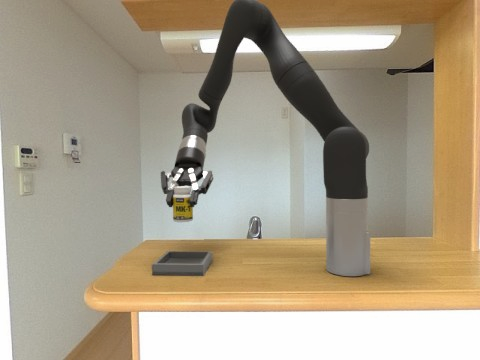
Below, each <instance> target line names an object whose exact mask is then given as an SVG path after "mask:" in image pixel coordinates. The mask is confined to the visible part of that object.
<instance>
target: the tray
mask: <svg viewBox="0 0 480 360" xmlns="http://www.w3.org/2000/svg"><path fill="white" fill-rule="evenodd" d="M212 262H213V250H212V251H211V250H210V251H209V250H207V251H206V250H202V251H201V250H167V251H165V253H163V254H162V255H161V256H160V257H158V258H157V259H156V260H155V261H154V262H153V263H152V264H151V272H152V273H151V274H152V276H197V277H198V276H199V277H200V276H201V277H203V276H205V274H206V272H207V270H208V269H209V267H210V265H211V263H212Z"/></svg>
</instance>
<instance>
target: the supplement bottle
mask: <svg viewBox="0 0 480 360" xmlns="http://www.w3.org/2000/svg"><path fill="white" fill-rule="evenodd" d="M191 192H192V186H179V187H174V193H175V194H174V195H173V206H172V219H173V222H176V223H189V222H192V221H193V220H194V214H193V212H194V207H191V206H190V198H191Z"/></svg>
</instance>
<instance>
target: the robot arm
mask: <svg viewBox="0 0 480 360" xmlns="http://www.w3.org/2000/svg"><path fill="white" fill-rule="evenodd" d="M222 25H223V27H222V29H221V33H220V37H219V40H218V41H217V42H218V43H217V46H216V50H215V54H214V56H213V60H212V62H211V65H210V67H209V69H208V72H207V74H206V76H205V77H204V80H203V82H202V84H201V87H200V88H199V91H198V98H199V100H201V101H202V102H203V104H205V105H206V106H207V107H208V108H209V109H207V108H205V107H203V106H201V105H198V104H196V103H194V102H193V103H191V102H190V103H188V104H186V105H185V106H184V108H183V110H182V112H181V123H182V129H183V133H182V134H183V135H182V138H181V142H180V144H179V146H178V149H177V155H176V157H175V158H176V159H175V162H174V165H173V166H174V167H173V169H171V171H169V172H166V171H165V170H162V171H160V184H161V185H160V187H161V189H162V192H163V194H164V195H166V197H165V202H166V205H167V206H168V208H173V195H174V194H175V193H174V187H179V186H189V187H192V190H191V192H190V194H191V198H190V206H191V207H193V208H195V206H197V204H198V200H199V196H200V195H201V194H203V195H206V194H207V193H208V190H209V189H210V186H211V185H212V182H213V181H214V174H213V171H212V170H208V171H204V166H205V161H206V156H207V155H206V154H207V153H206V152H207V142H208V134H209V133H211V132H212V131H213V130H214V129H215V126H216V125H217V118H218V113H219V109H220V106H221V103H222V101H223V99H224V97H225V95H226V93H227V91H228V89H229V87H230V85H231V82H232V78H233V73H234V71H233V70H234V60H235V56H236V53H237V51H238V48H239V47H240V44H241V43H242V41H243V40H244V39H247V40H250V41H252V42H253V43H254V44H255V45H256V46H257V48H258V49H259V50H260V52H262V54H263V55H264V56H265V58H266V60H267V62H268V65H269V69H270V74H271V77H272V79H273V81H274V84H275V85H276V86H277V88H278V89H279V90H280V92H281V94H282V95H283V96H284V97H285V98H286V101H288V102H289V103H290V105H291V106H292V107H293V108H294V109H295V110H296V111H297V112H298V113H299V114H300V115H301V116H302V117H303V118H304V119H306V120H307V121H308V122H309V123H310V124H311V125H312V126H313V128H314V129H315V130H316V131H317V133H318V134H319V136H320V137H321V139H322V141H324V142H323V149H322V150H323V151H322V165H323V171H322V172H323V185H324V187H325V232H326V233H325V249H326V250H325V253H326V254H325V256H326V257H325V258H326V259H325V263H326V264H325V270H326V271H327V272H329V273H331V274H334V275H336V276H344V277H360V276H365V275H371V232H370V231H369V230H368V229H369V228H368V226H369V225H368V223H369V222H368V219H369V216H368V215H369V214H368V213H369V210H368V208H369V205H368V203H369V201H368V200H369V199H368V195H369V192H368V191H369V190H368V189H369V187H368V181H367V158H368V156H369V153H370V143H369V140H368V138H367V136H366V135H365V134H364V133H363V132H362V131H360V130H359V129H358V128H357V127H356V126H355V124H353V122H351V120H350V119H349V118H348V117H347V116H346V115H345V114H344V112H343V111H342V110H341V109H340V108H339V106H338V105H337V104H336V102H335V100H334V99H333V97H332V95H331V93H330V92H329V90H328V88H327V87H326V86H325V84H324V82H323V81H322V80H321V78H320V77H319V75H318V74H317V72H316V71H315V70H314V68H313V67H312V66H311V65H310V63H309V62H308V61H307V59H306V58H305V57H304V56H303V55H302V53H300V51H299V50H298V49H297V48H296V46H295V45H294V44H293V43H292V42H291V41H290V40H289V38H288V37H287V36H286V34H285V33H284V32H283V30H282V29H281V27H280V25H279V24H278V22H277V20H276V18H275V16H274V15H273V13H272V11H271V10H270V8H268V7H267V6H266V4H264V3H262V2H260V1H258V0H233V2H232V3H231V4H230V6H229V8H228V11H227V13H226V16H225V18H224V22H223V24H222ZM171 178H172V179H171ZM202 178H203V180H202ZM170 180H171V183H170V185H169V183H168V182H170ZM201 180H202V183H201V184H200V186H198V182H199V181H201Z"/></svg>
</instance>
